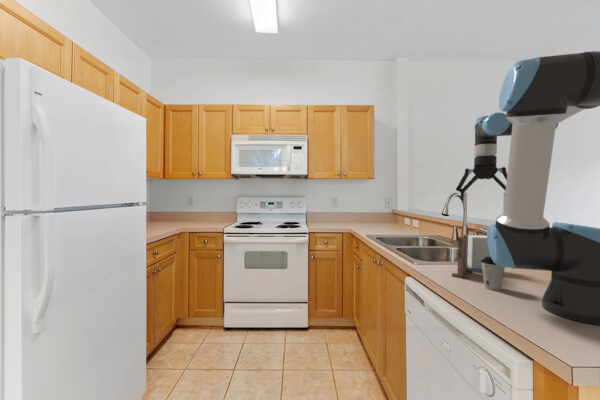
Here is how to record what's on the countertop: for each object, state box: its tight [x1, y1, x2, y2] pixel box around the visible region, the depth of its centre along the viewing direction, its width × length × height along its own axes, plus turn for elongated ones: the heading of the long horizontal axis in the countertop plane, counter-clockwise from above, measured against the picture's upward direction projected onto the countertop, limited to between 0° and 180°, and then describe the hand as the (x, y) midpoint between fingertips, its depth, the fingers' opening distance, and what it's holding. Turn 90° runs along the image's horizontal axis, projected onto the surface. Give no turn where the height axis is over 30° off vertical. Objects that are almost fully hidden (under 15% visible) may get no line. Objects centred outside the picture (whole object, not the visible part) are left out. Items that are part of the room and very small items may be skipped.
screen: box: [451, 233, 474, 280], centre depth 112 cm, size 12×5×15 cm, turn 141°
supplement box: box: [467, 234, 491, 269], centre depth 119 cm, size 7×7×13 cm
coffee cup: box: [481, 257, 506, 292], centre depth 96 cm, size 7×7×10 cm
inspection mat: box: [467, 265, 483, 274], centre depth 119 cm, size 10×10×1 cm
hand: (484, 208), depth 117 cm, fingers open, 13 cm apart
